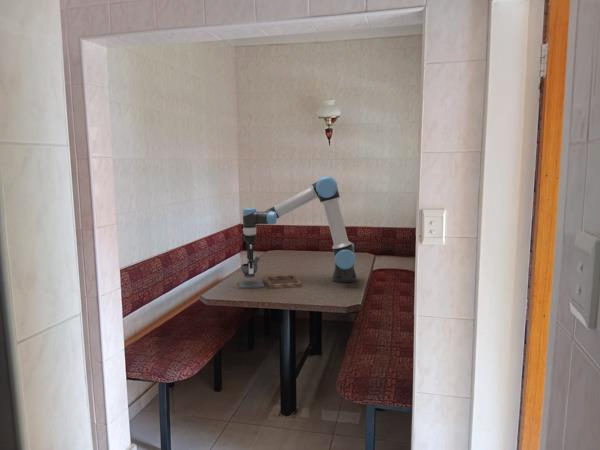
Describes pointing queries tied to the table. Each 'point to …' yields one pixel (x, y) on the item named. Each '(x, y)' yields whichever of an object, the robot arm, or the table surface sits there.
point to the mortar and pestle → (246, 268)
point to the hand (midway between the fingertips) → (250, 271)
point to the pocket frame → (297, 284)
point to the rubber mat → (251, 284)
